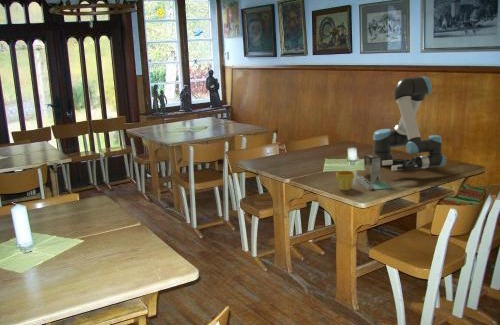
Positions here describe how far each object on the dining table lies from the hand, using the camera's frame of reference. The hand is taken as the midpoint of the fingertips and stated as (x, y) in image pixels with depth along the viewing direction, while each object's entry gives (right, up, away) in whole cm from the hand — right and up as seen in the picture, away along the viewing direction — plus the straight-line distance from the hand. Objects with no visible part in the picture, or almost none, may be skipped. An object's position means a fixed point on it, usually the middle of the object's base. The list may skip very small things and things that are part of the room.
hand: (386, 165), depth 306 cm
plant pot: (-27, -14, -10) cm, 32 cm away
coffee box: (-8, -10, +1) cm, 13 cm away
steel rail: (-15, -12, -5) cm, 19 cm away
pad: (-7, -12, -9) cm, 17 cm away
